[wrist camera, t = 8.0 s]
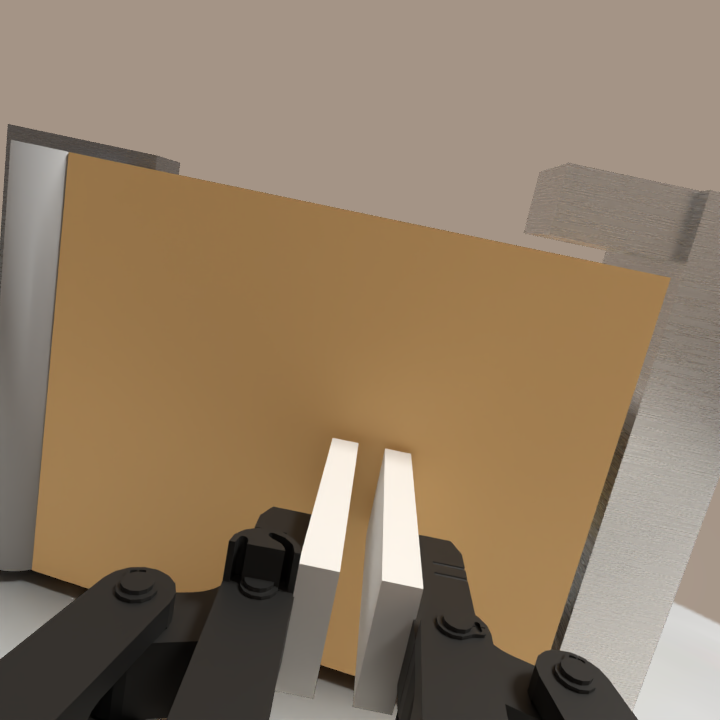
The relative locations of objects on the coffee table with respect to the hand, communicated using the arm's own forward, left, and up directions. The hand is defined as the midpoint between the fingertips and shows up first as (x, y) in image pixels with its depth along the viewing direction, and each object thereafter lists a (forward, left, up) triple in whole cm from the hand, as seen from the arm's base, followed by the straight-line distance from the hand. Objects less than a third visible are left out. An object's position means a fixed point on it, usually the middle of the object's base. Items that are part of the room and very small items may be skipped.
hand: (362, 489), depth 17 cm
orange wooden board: (-3, +2, -6) cm, 7 cm away
